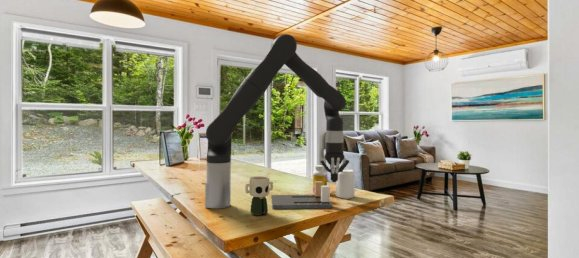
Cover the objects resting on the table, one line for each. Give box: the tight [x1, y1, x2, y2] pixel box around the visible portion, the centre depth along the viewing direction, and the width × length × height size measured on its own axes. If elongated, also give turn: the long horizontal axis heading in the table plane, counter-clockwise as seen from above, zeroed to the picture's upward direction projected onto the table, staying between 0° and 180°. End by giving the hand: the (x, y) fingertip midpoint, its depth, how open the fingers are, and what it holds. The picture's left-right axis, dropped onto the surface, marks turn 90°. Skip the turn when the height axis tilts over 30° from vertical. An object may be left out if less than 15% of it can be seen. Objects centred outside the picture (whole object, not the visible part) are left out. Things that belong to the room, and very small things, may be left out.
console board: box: [270, 194, 333, 210], centre depth 124 cm, size 23×16×2 cm
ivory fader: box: [321, 185, 331, 203], centre depth 120 cm, size 3×2×6 cm
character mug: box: [244, 175, 274, 216], centre depth 109 cm, size 11×7×13 cm, turn 122°
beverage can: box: [335, 168, 356, 200], centre depth 135 cm, size 8×8×12 cm
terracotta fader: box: [314, 181, 323, 196], centre depth 129 cm, size 3×2×6 cm
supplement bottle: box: [312, 164, 328, 194], centre depth 142 cm, size 7×7×13 cm
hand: (334, 181), depth 130 cm, fingers closed
